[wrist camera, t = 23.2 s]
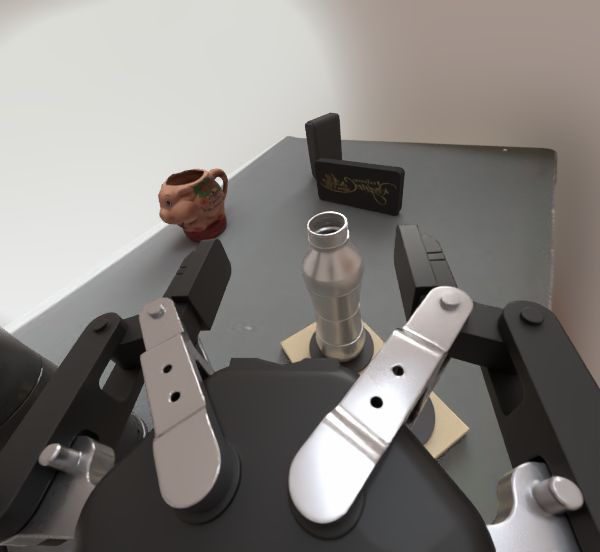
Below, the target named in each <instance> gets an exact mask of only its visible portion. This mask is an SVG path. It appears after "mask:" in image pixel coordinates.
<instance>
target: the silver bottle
mask: <svg viewBox="0 0 600 552" xmlns="http://www.w3.org/2000/svg"><path fill="white" fill-rule="evenodd" d="M307 230H308V241H309V245H310V247H309V249H308V251H307V252H306V254H305V256H304V259H303V263H302V276H303V279H304V282H305V284H306V287H307V289H308V291H309V294H310V296H311V298H312V302H313V305H314V309H315V312H316V341H317V344H318V346H319V348H320V350H321V352H322V353H323V355H325V356H326V357H327V358H339V360H340V362H346V361H350V360H352V359H354V358H355V357H357V356H358V355H359V354H360V352H361V351H362V349H363V346H364V343H365V337H366V335H365V329H364V325H363V322H362V320H361V314H360V290H361V284H362V278H363V272H364V262H363V259H362V257H361V255H360V252H359V251H358V250H357V248H356V247H355V246H354V245H353V244H352V243H351V242H349V231H348V228H347V220H346V218H345V216H343V215H342V214H340V213H337V212H324V213H320V214H317V215H315V216H314V217H312V218H311V219H310V220H309V222H308V224H307Z"/></svg>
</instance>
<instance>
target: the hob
mask: <svg viewBox="0 0 600 552" xmlns="http://www.w3.org/2000/svg"><path fill="white" fill-rule="evenodd" d="M362 322H363V321H362ZM363 325H364V329H365V335H366V337H365V343H364V346H363V349H362V351H361V352H360V354H359V355H358V356H357V357H355V358H354V359H352V360H350V361H346V362H340V366H341V367H345V368H348V369H350V370H353V371H354V372H356V373H358V374H360V375H361V374H362V373H363V371H364V370H365V369H366V367H367V366H368V365H369V363H370V362H371V361H372V359H373V358H374V357H375V355H376V354H377V353H378V351H379V350H380V349H381V347H382V346H383V345H384V344H385V343H384V342H383V341H382V340H381V339H380V338H379V337H378V336H377V335H376V334H375V333H374V332H373V331H372V330H371V329H370V328H369V327H368V326H367V325H366V324H365V323H364V322H363ZM280 344H281V346H282V349H283V350H284V352H285V353H286V355H287V357H288V358H289V360H290V361H291V363H294V362H298V361H302V360H306V359H310V358H327V357H326V356H325V355H323V353H322V352H321V350H320V348H319V346H318V344H317V341H316V322H315V323H313V324H312V325H310V326H308V327H307V328H305V329H303V330H301V331H300V332H298V333H296V334H295V335H293V336H291V337H289V338H288V339H286V340H284V341H283V342H281V343H280ZM411 431H412V432H413V434H414V435H415V436H416V437H417V438H418V440H419V441H420V442H421V443H422V444H423V445H424V447H425V448H426V449H427V450H428V451H429V453H430V454H431V455H432V456H433V457H434V458H435V460H436V459H437V458H438V457H439V456H440V455H442V454H443V453H444V452H445V451H446V450H448V449H449V448H450V447H451V446H452V445H453V444H455V443H456V442H457V441H458V440H459V439H461V438H462V437H463V436H464V435H465V434H466V433H467V432H468V431H469V428H468V427H467V426H466V425H465V424H464V423H463V422H462V421H461V420H460V419H459V418H458V417H457V416H456V415H455V414H454V413H453V412H452V411H451V410H450V409H449V408H448V407H447V406H446V405H445V404H444V403H443V402H442V401H441V400H440V399H439V398H438V397H437V396H436V395H435V393H434V392H433V391H432V392H431V394H430V396H429V398H428V400H427V402H426V404H425V406H424V408H423V410H422V412H421V413H420V415H419V417H418V419H417V420H416V422H415V424H414V425H413V427H412V429H411Z"/></svg>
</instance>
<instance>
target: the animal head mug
mask: <svg viewBox="0 0 600 552" xmlns="http://www.w3.org/2000/svg"><path fill="white" fill-rule="evenodd" d="M216 177H220V178H222V180H223V191H222V189H221V187H220V186H219V184H218V183H217V182H216V181H215V178H216ZM227 183H228V179H227V176H226V174H225V173H224V171H222V170H221V169H212V170H210V171H209V172H208V171H206V170H203V169H192V170H186V171H183V172H180V173H177V174H172V175H171V176H170V177H169V178H168V179H167V180H166V181H165V182H164V183H163V184H162V187H161V190H160V192H159V195H158V197H159V202H160V208H161V209H160V217H161V219H162V220H163V221H164V222H165V223H168V224H177V225H178V226H180V227H182V228H183V230H184V232H185V234H186V236H187V237H188V238H189V239H190V240H192V241H202V240H210V239H212V238H214V237H216V236H218V235H219V234H220V233H221V232H222V231H223V230H224V229H225V227H226V216H225V213H224V200H225V197H226V193H227V186H228V184H227Z"/></svg>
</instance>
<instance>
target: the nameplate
mask: <svg viewBox="0 0 600 552" xmlns="http://www.w3.org/2000/svg"><path fill="white" fill-rule="evenodd" d="M314 165H315V173H316V180H317V188H318V195H319V198H320V199H321V200H325V201H330V202H335V203H339V204H344V205H348V206H353V207H357V208H362V209H367V210H371V211H376V212H380V213H385V214H390V215H396V214H397V213H398V212H399V211H400V210H401V207H402V196H403V185H404V175H405V172H404V170H403V169H402V168H400V167H393V166H384V165H376V164H368V163H360V162H352V161H343V160H335V159H327V158H320V159H319V160H317V161H316V162H315V164H314Z"/></svg>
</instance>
